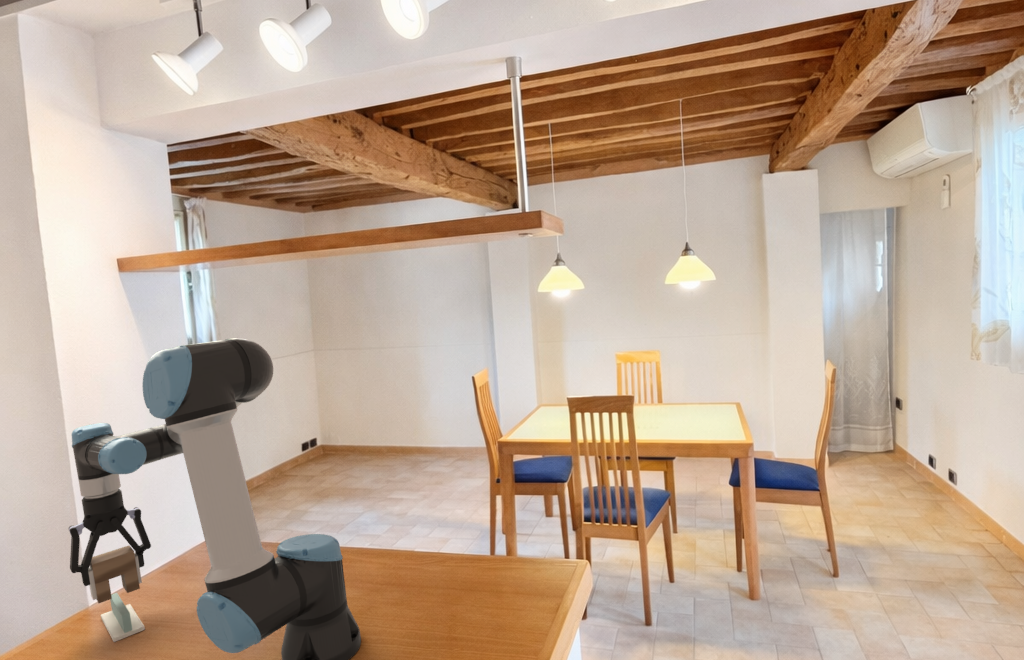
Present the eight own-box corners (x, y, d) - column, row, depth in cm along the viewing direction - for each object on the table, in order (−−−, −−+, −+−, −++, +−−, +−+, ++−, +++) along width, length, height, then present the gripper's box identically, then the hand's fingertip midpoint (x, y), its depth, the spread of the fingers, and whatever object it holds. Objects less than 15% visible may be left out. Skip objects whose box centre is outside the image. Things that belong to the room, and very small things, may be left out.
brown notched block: (139, 588, 141) (133, 551, 140) (98, 603, 136) (92, 564, 135) (135, 581, 145) (129, 545, 144) (94, 596, 139) (88, 558, 138)
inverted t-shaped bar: (144, 629, 137) (141, 609, 137) (113, 642, 133) (110, 621, 133) (130, 606, 148) (127, 587, 148) (101, 617, 144) (97, 598, 144)
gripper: (149, 476, 148) (163, 566, 150) (41, 504, 134) (58, 603, 136) (157, 482, 142) (171, 575, 144) (45, 512, 128) (63, 615, 130)
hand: (117, 589), depth 140 cm, fingers closed on brown notched block, 8 cm apart
